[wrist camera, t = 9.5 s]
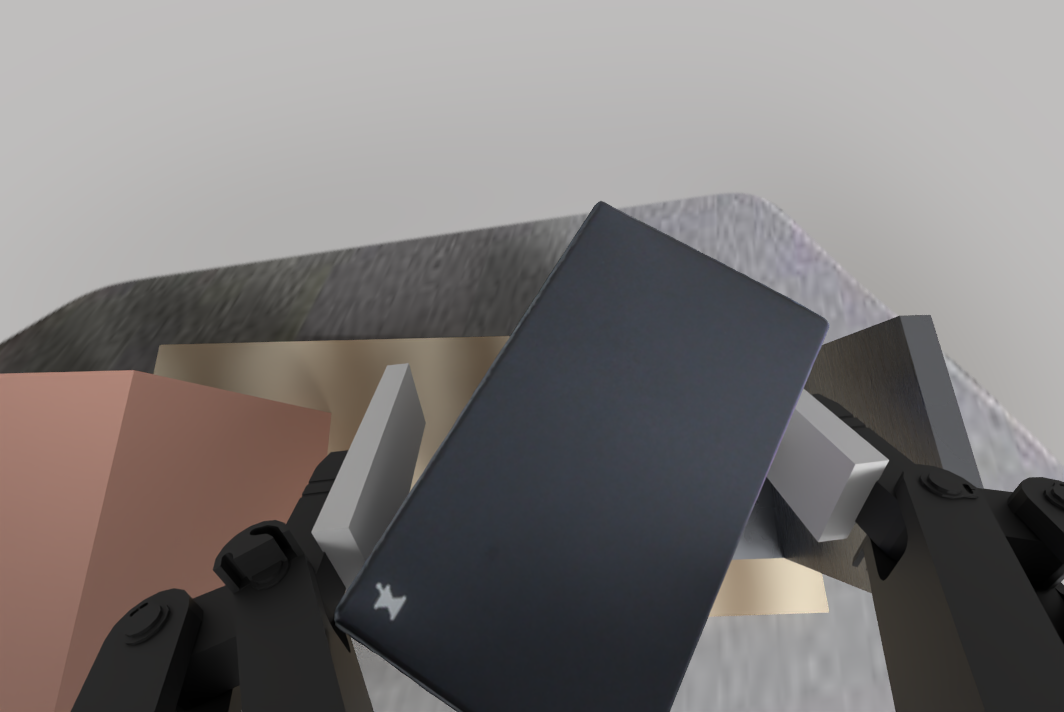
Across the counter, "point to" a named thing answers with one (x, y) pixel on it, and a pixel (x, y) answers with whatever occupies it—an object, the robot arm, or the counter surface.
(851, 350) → the bookend
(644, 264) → the small box
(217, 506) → the book
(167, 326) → the counter surface
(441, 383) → the shelf board
